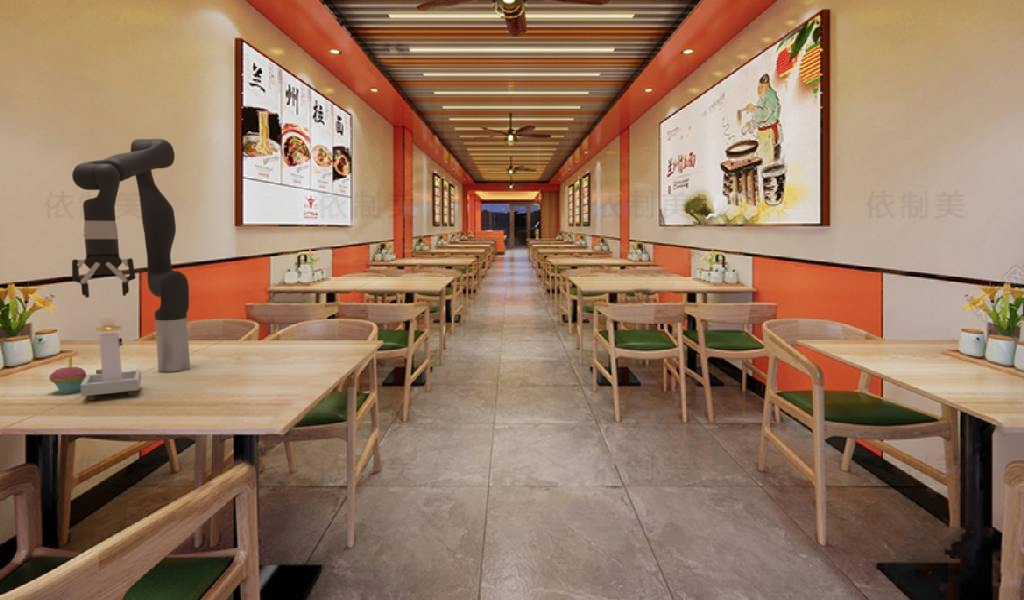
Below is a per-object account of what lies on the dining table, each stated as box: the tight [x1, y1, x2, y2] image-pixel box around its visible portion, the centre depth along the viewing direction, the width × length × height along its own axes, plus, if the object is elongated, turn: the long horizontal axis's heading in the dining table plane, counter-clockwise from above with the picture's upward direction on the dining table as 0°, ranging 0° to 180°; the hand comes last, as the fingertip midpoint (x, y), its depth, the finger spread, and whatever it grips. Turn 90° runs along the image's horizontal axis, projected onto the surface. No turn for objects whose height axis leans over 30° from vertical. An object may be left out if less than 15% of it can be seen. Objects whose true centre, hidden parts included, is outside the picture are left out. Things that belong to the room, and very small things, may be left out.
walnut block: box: [95, 368, 102, 374], centre depth 179 cm, size 4×4×4 cm
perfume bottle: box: [95, 313, 123, 382], centre depth 164 cm, size 6×6×20 cm
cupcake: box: [49, 351, 87, 394], centre depth 168 cm, size 9×8×12 cm
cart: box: [80, 369, 142, 402], centre depth 165 cm, size 13×13×5 cm
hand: (106, 296), depth 163 cm, fingers open, 8 cm apart
